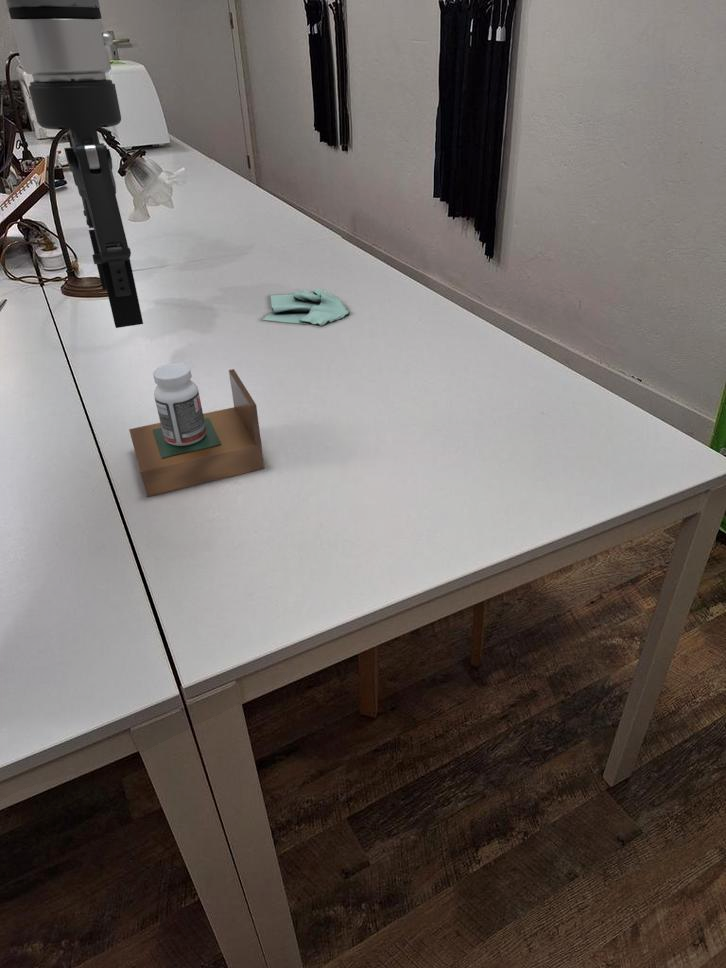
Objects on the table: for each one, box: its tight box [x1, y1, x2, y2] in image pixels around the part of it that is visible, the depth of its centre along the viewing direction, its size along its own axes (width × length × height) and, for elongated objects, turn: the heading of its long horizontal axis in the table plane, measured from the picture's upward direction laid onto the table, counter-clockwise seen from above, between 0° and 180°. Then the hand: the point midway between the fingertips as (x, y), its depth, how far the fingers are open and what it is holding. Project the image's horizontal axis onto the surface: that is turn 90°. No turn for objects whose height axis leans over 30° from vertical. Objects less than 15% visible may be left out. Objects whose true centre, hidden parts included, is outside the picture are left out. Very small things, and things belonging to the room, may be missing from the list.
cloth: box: [262, 287, 350, 327], centre depth 142 cm, size 20×22×2 cm
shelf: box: [128, 368, 265, 498], centre depth 90 cm, size 16×12×10 cm
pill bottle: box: [152, 362, 206, 446], centre depth 87 cm, size 6×6×10 cm
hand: (121, 305), depth 72 cm, fingers open, 13 cm apart
